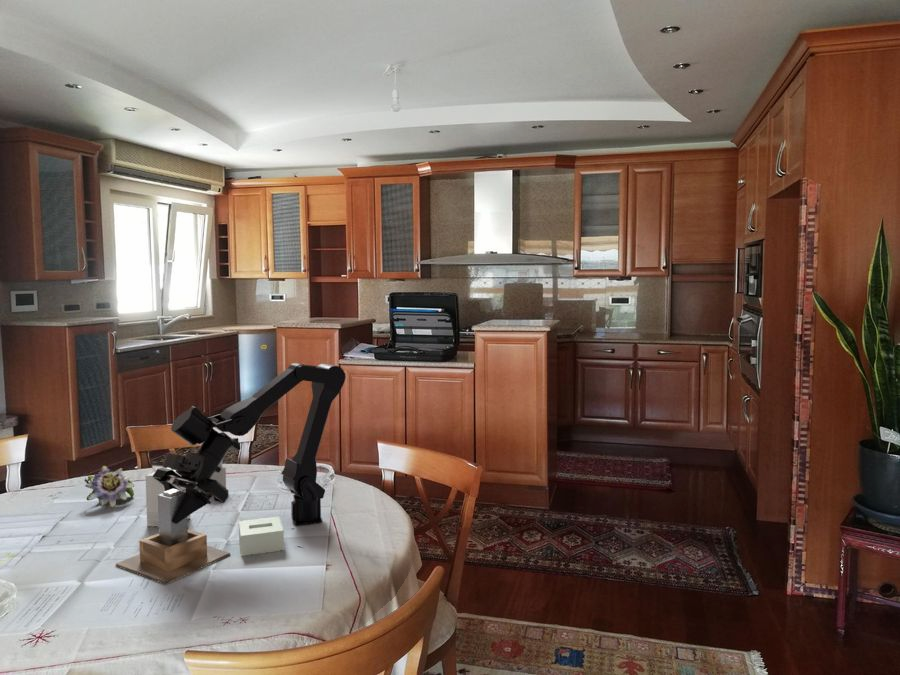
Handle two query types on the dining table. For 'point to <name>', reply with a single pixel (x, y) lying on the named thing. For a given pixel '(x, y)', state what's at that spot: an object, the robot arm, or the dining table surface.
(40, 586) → the dining table surface
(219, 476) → the power adapter
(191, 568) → the square sleeve
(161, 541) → the square bit
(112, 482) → the passion flower
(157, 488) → the supplement box
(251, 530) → the narrow slot block
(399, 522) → the dining table surface
